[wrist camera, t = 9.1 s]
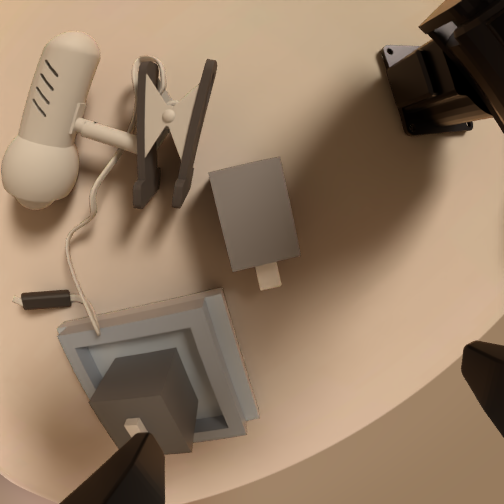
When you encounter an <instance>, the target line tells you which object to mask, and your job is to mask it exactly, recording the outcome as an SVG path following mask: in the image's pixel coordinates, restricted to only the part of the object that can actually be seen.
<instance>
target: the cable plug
mask: <svg viewBox="0 0 504 504" xmlns="http://www.w3.org/2000/svg"><path fill="white" fill-rule="evenodd" d="M208 174H209V178H210V182H211V187H212V191H213V195H214V199H215V203H216V207H217V212H218V216H219V220H220V224H221V228H222V232H223V236H224V240H225V244H226V248H227V252H228V256H229V260H230V264H231V268H232V272H235V271H239V270H244V269H248V268H252V267H255V269H256V274H257V278H258V282H259V286H260V290H261V291H262V290H266V289H270V288H274V287H279V286H282V285H281V280H280V275H279V271H278V266H277V261H282V260H286V259H290V258H294V257H298V256H301V253H300V248H299V243H298V238H297V233H296V228H295V223H294V218H293V214H292V209H291V204H290V199H289V195H288V190H287V186H286V181H285V177H284V172H283V168H282V163H281V159H280V157H275V158H270V159H265V160H261V161H256V162H252V163H247V164H243V165H238V166H234V167H230V168H225V169H221V170H217V171H213V172H209V173H208Z"/></svg>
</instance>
